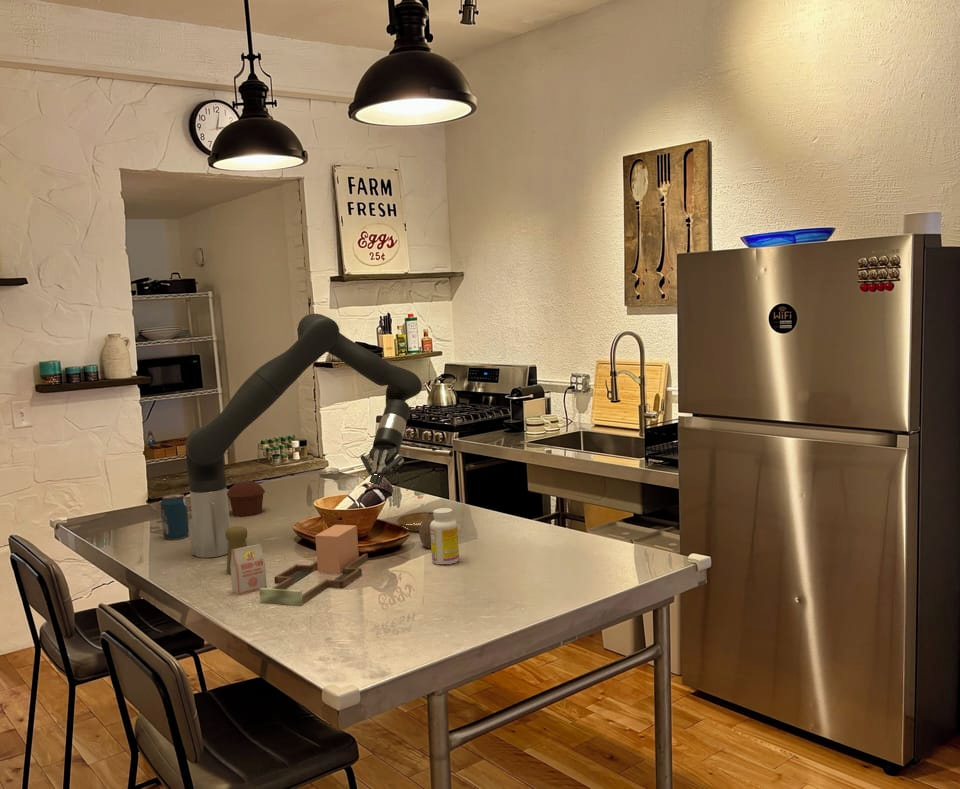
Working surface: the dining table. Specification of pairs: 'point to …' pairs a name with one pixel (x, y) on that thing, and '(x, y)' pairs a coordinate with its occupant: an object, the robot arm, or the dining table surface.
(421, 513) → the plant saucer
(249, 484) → the muffin
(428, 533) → the vase
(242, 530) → the olive ball-topped cylinder
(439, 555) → the supplement bottle
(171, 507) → the soda can
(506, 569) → the dining table surface
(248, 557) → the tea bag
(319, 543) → the terracotta block
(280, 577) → the trap lane
